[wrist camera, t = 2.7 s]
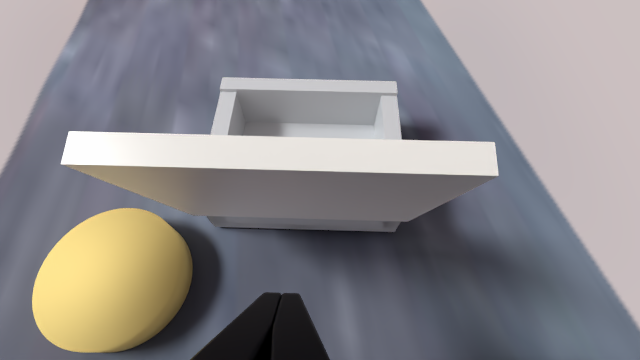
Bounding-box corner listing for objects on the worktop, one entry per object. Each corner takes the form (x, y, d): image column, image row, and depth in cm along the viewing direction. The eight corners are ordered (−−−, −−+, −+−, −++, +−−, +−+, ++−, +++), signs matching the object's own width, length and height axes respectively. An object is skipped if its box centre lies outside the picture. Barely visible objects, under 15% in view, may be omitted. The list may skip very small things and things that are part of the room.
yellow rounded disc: (122, 384, 13) (98, 387, 12) (31, 302, 15) (1, 296, 13) (219, 259, 16) (208, 250, 14) (132, 200, 17) (115, 186, 16)
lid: (407, 204, 13) (407, 221, 13) (195, 198, 13) (193, 215, 13) (494, 142, 6) (498, 175, 6) (69, 131, 7) (60, 163, 6)
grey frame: (394, 232, 16) (410, 205, 13) (214, 226, 16) (192, 199, 13) (385, 121, 19) (396, 81, 17) (236, 117, 19) (222, 77, 17)
